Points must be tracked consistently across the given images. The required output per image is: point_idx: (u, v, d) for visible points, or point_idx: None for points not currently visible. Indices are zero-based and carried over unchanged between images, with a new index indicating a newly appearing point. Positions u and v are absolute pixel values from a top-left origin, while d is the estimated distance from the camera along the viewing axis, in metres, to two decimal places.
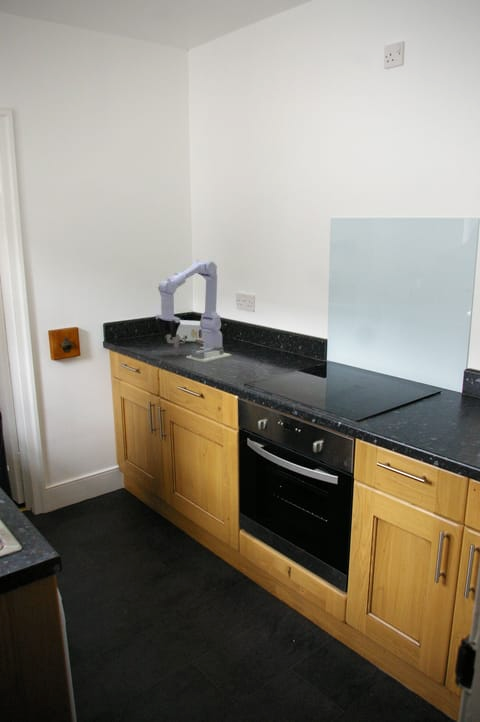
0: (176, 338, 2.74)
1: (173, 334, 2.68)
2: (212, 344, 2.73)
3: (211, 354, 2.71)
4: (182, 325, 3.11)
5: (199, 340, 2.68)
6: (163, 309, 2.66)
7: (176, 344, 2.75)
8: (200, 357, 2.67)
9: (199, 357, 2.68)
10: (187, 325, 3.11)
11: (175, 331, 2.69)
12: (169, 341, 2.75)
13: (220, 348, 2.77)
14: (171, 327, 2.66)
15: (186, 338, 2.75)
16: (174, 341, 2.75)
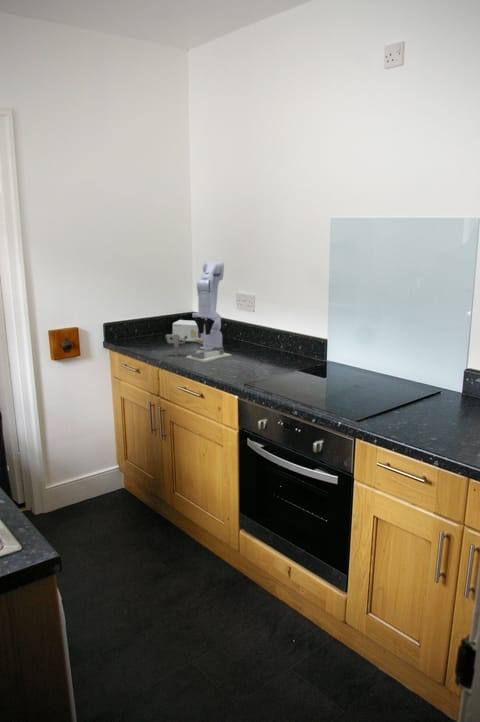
0: (176, 338, 2.74)
1: (208, 331, 2.74)
2: (212, 344, 2.73)
3: (211, 354, 2.71)
4: (182, 325, 3.12)
5: (199, 340, 2.68)
6: (200, 307, 2.71)
7: (176, 344, 2.75)
8: (200, 357, 2.67)
9: (199, 357, 2.68)
10: (186, 325, 3.11)
11: (209, 328, 2.75)
12: (169, 341, 2.75)
13: (220, 348, 2.77)
14: (206, 324, 2.72)
15: (186, 338, 2.75)
16: (174, 341, 2.75)
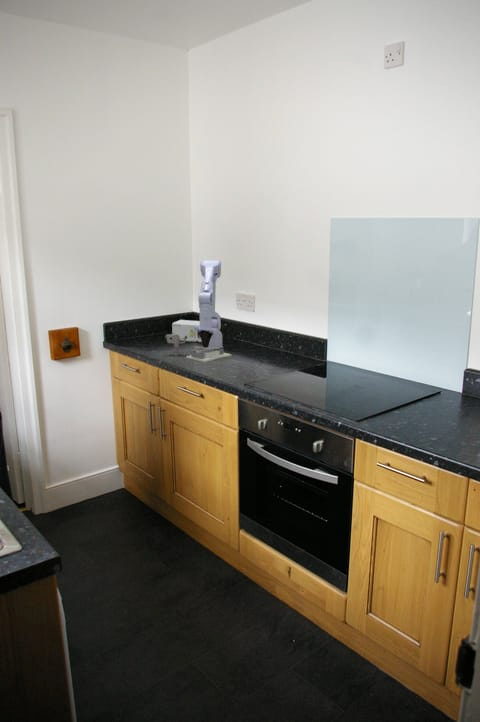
0: (176, 338, 2.74)
1: (206, 344, 2.72)
2: (211, 347, 2.73)
3: (211, 354, 2.71)
4: (181, 325, 3.12)
5: (198, 347, 2.68)
6: (202, 320, 2.68)
7: (176, 344, 2.75)
8: (200, 357, 2.67)
9: (199, 357, 2.68)
10: (186, 325, 3.11)
11: (208, 341, 2.72)
12: (169, 341, 2.75)
13: (220, 348, 2.77)
14: (204, 337, 2.69)
15: (186, 338, 2.75)
16: (174, 341, 2.75)
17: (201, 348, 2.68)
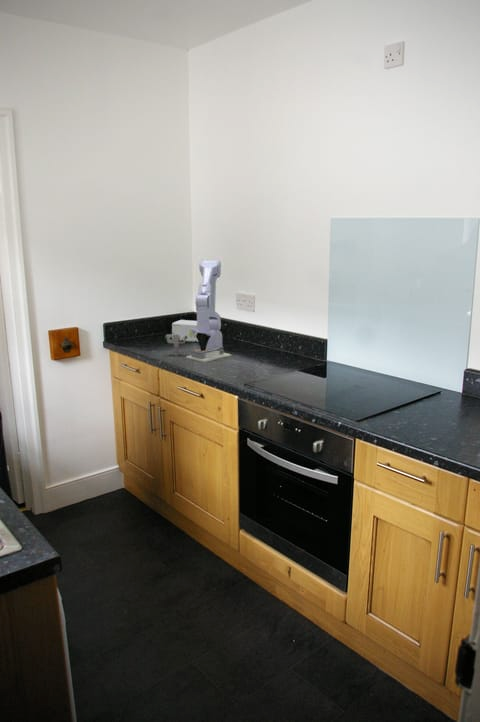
0: (176, 338, 2.74)
1: (204, 347, 2.71)
2: (211, 349, 2.74)
3: (211, 354, 2.71)
4: (181, 325, 3.12)
5: (197, 351, 2.68)
6: (199, 323, 2.67)
7: (176, 344, 2.75)
8: (200, 357, 2.67)
9: (199, 357, 2.68)
10: (186, 325, 3.11)
11: (205, 344, 2.71)
12: (169, 341, 2.75)
13: (220, 348, 2.78)
14: (202, 340, 2.68)
15: (186, 338, 2.75)
16: (174, 341, 2.75)
17: (201, 351, 2.69)
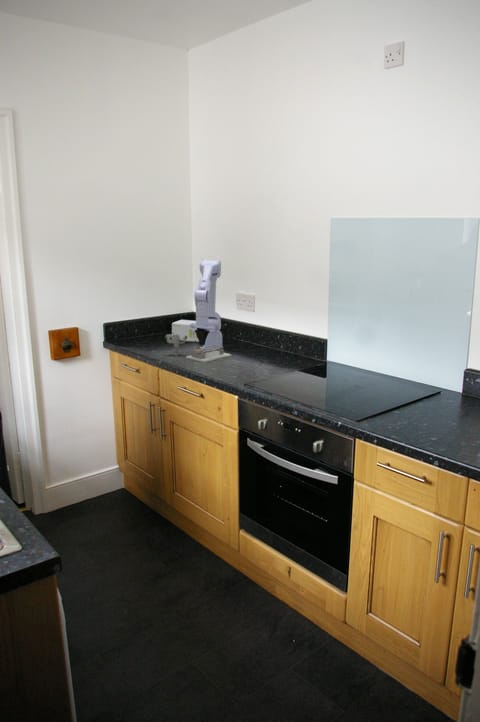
0: (176, 338, 2.74)
1: (203, 342, 2.70)
2: (211, 349, 2.74)
3: (211, 354, 2.71)
4: (180, 325, 3.12)
5: (197, 351, 2.68)
6: (198, 318, 2.66)
7: (176, 344, 2.75)
8: (200, 357, 2.67)
9: (199, 357, 2.68)
10: (185, 325, 3.11)
11: (204, 339, 2.70)
12: (169, 341, 2.75)
13: (220, 348, 2.78)
14: (201, 335, 2.68)
15: (186, 338, 2.75)
16: (174, 341, 2.75)
17: (201, 351, 2.69)
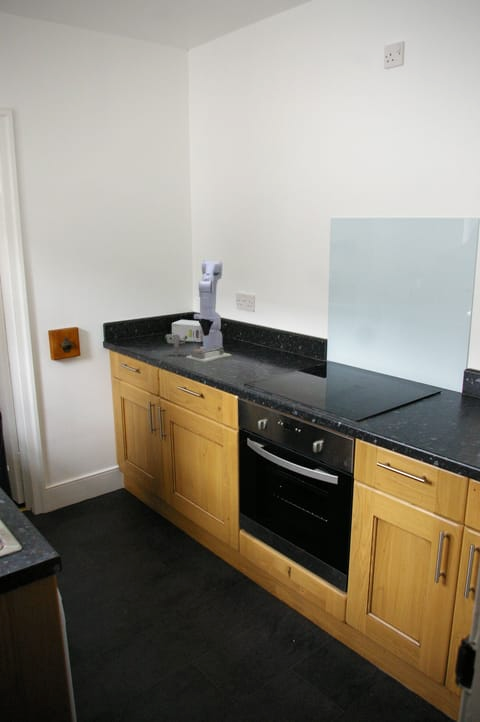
0: (176, 338, 2.74)
1: (207, 332, 2.74)
2: (211, 349, 2.74)
3: (211, 354, 2.71)
4: (180, 325, 3.12)
5: (197, 351, 2.68)
6: (202, 309, 2.70)
7: (176, 344, 2.75)
8: (200, 357, 2.67)
9: (199, 357, 2.68)
10: (185, 325, 3.11)
11: (208, 329, 2.74)
12: (169, 341, 2.75)
13: (220, 348, 2.78)
14: (205, 326, 2.72)
15: (186, 338, 2.75)
16: (174, 341, 2.75)
17: (201, 351, 2.69)
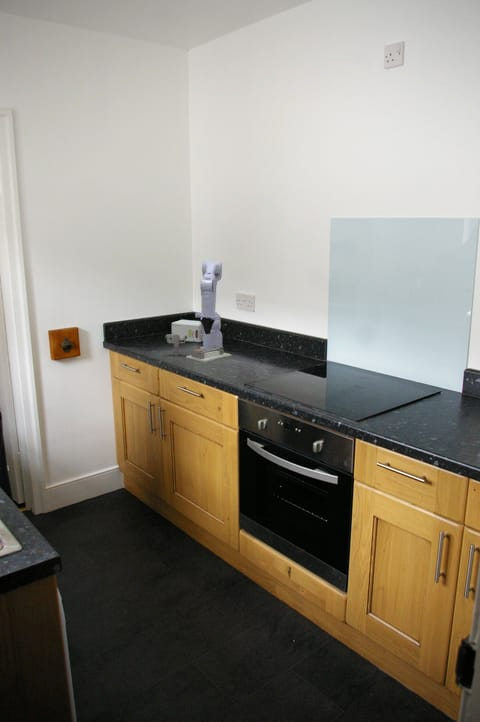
0: (176, 338, 2.74)
1: (208, 331, 2.76)
2: (211, 349, 2.74)
3: (211, 354, 2.71)
4: (180, 325, 3.12)
5: (197, 351, 2.68)
6: (203, 307, 2.71)
7: (176, 344, 2.75)
8: (200, 357, 2.67)
9: (199, 357, 2.68)
10: (185, 325, 3.11)
11: (210, 328, 2.76)
12: (169, 341, 2.75)
13: (220, 348, 2.78)
14: (206, 324, 2.73)
15: (186, 338, 2.75)
16: (174, 341, 2.75)
17: (201, 351, 2.69)
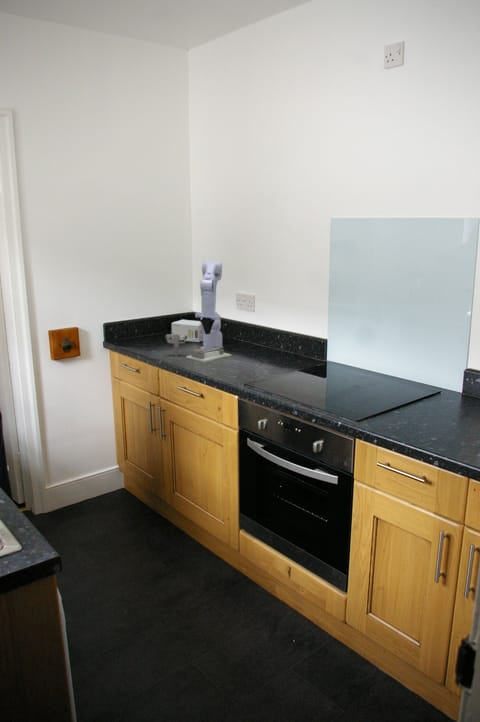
0: (176, 338, 2.74)
1: (208, 331, 2.76)
2: (211, 349, 2.74)
3: (211, 354, 2.71)
4: (180, 325, 3.12)
5: (197, 351, 2.68)
6: (203, 307, 2.71)
7: (176, 344, 2.75)
8: (200, 357, 2.67)
9: (199, 357, 2.68)
10: (184, 325, 3.11)
11: (210, 328, 2.76)
12: (169, 341, 2.75)
13: (220, 348, 2.78)
14: (206, 324, 2.73)
15: (186, 338, 2.75)
16: (174, 341, 2.75)
17: (201, 351, 2.69)
